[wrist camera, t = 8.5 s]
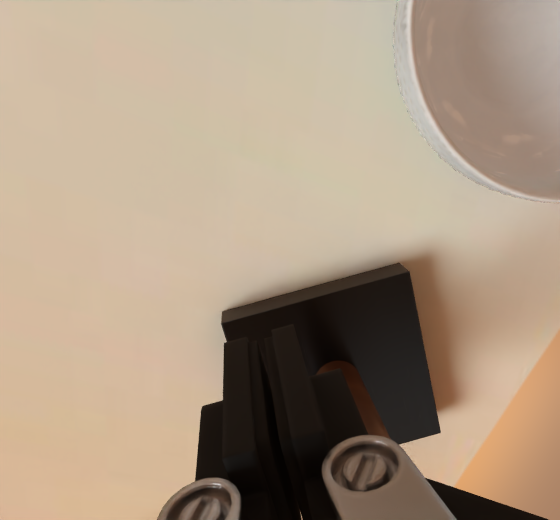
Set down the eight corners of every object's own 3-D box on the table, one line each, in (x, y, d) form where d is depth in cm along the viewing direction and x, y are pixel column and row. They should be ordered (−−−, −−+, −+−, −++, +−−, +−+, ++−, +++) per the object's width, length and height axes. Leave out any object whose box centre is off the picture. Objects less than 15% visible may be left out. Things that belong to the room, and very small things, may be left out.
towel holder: (213, 314, 32) (369, 253, 36) (262, 465, 36) (399, 394, 39) (349, 463, 16) (604, 325, 20) (413, 709, 20) (622, 553, 23)
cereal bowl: (697, -53, 29) (839, -107, 22) (569, 218, 33) (657, 244, 26) (432, -175, 26) (502, -278, 19) (328, 137, 30) (355, 143, 23)
